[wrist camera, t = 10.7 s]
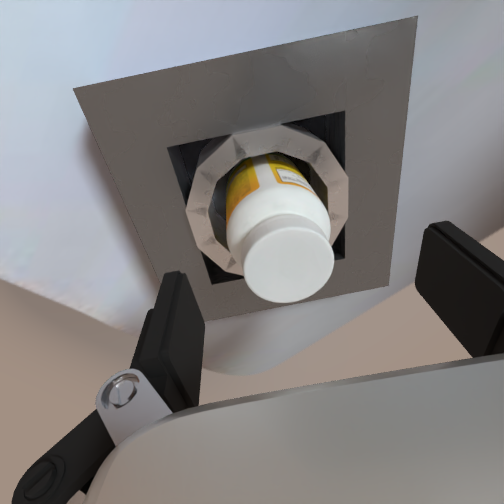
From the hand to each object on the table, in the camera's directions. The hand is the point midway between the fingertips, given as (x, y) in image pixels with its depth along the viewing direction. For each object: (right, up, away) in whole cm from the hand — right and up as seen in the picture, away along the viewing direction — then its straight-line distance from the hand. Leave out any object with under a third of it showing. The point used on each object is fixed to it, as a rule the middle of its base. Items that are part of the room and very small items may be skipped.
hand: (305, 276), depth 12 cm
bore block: (-1, +5, +9) cm, 11 cm away
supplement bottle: (-1, +6, +9) cm, 11 cm away
